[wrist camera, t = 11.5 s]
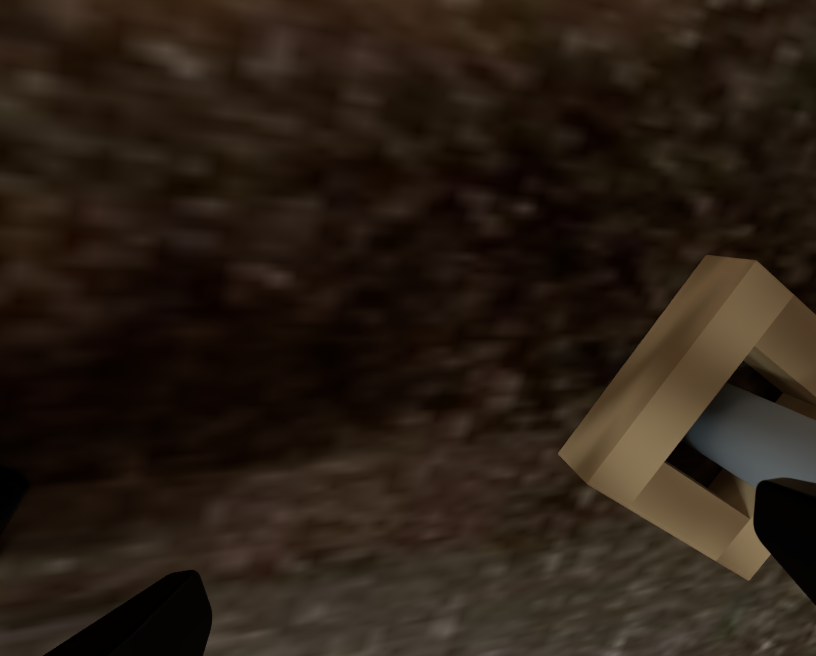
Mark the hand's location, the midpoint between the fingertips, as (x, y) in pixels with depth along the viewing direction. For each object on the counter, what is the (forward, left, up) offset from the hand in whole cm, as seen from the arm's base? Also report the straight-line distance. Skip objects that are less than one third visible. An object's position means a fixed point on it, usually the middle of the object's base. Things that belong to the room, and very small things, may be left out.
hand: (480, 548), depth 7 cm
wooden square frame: (+5, -15, -12) cm, 20 cm away
